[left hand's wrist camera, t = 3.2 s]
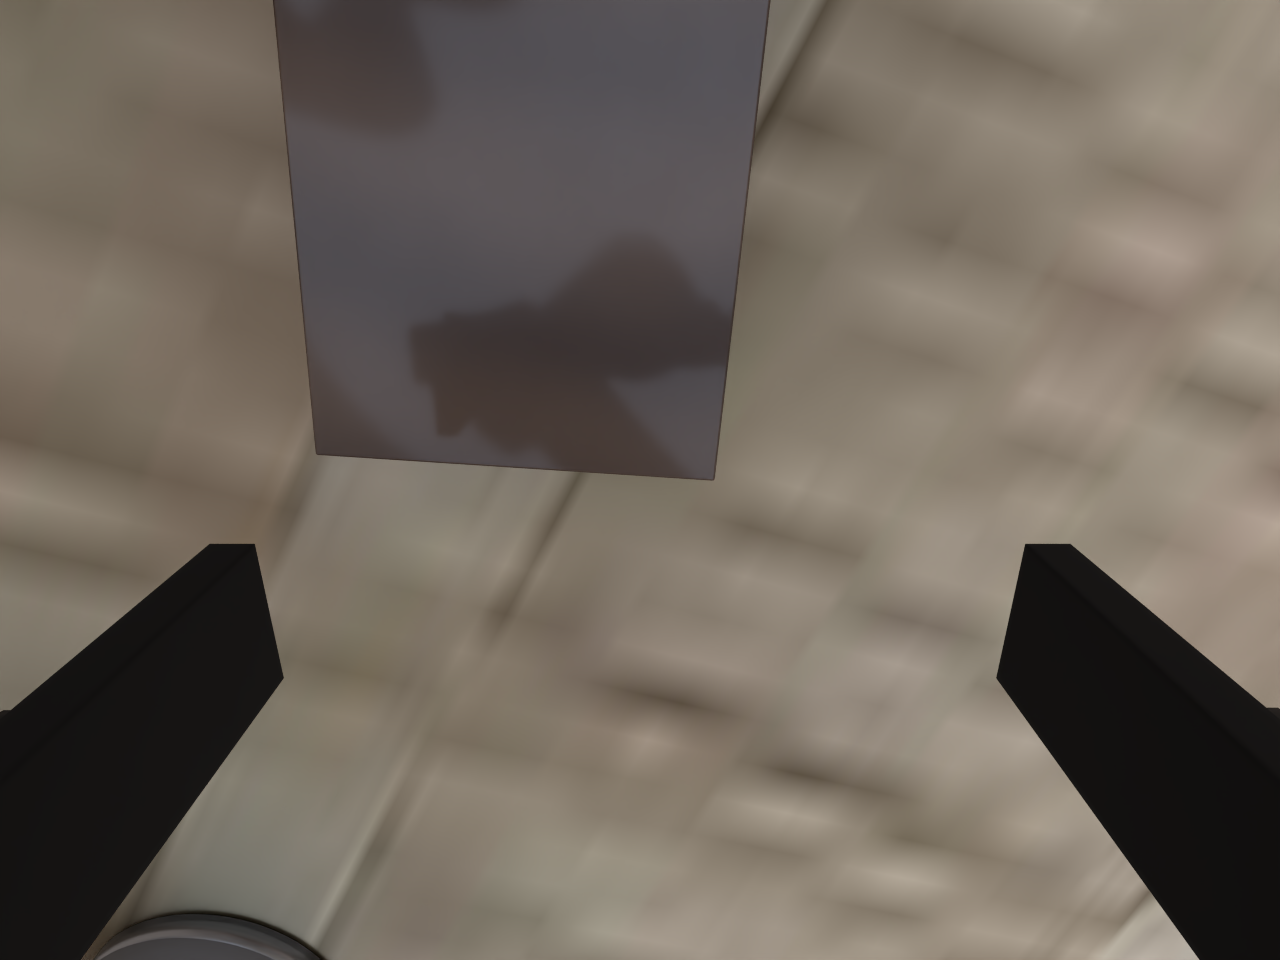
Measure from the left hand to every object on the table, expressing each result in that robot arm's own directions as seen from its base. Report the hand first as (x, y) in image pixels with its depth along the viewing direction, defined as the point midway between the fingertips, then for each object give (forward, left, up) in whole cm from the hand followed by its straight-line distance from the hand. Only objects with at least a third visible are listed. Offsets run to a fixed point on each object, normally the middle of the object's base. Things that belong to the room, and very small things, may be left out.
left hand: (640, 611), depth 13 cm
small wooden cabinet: (-4, +10, -19) cm, 21 cm away
